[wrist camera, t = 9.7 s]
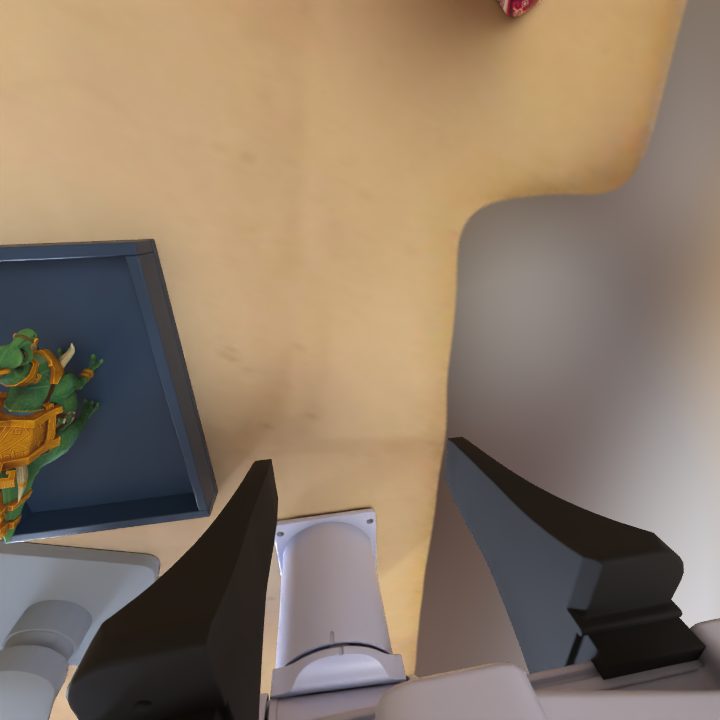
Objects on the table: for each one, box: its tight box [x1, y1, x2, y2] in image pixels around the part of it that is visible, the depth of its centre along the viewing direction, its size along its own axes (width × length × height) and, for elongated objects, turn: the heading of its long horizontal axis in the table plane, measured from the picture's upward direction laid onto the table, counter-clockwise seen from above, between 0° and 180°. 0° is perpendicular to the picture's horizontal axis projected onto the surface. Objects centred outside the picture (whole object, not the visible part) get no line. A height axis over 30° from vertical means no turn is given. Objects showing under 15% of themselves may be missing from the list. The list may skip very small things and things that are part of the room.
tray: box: [0, 239, 218, 543], centre depth 19 cm, size 17×12×2 cm
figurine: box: [0, 329, 104, 543], centre depth 16 cm, size 3×12×8 cm, turn 157°
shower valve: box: [0, 540, 160, 720], centre depth 25 cm, size 12×6×15 cm
